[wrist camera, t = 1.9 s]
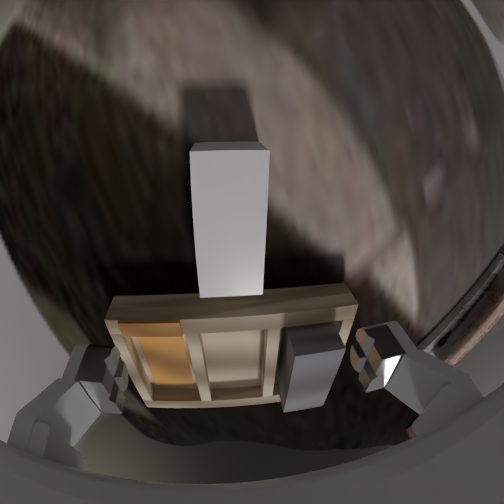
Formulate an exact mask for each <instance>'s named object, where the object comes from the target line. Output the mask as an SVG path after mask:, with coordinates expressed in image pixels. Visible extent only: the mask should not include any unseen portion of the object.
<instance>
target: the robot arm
mask: <svg viewBox="0 0 504 504" xmlns="http://www.w3.org/2000/svg"><path fill="white" fill-rule="evenodd" d="M355 337H356V339H357V341H356V342H355V343H354V344H353V345H352V348H351V351H350V359H351V363H352V366H353V368H354V370H356V371H358V372H359V373H360V376H359V380H360V382H361V384H362V386H363V388H364V391H365V392H369V391H373V390H377V389H380V388H384V387H385V389H387V390H388V391H389V392H391V393H392V394H393V395H394V396H396V397H397V398H398V399H400V400H401V401H402V402H404V403H405V404H406V405H408V406H409V407H410V408H412V409H413V410H414V411H416V412H417V413H418V414H420V415H419V416H418V418H417V419H416V420H415V421H414V422H413V424H412V428H413V430H414V432H415V434H416V437H414V438H412V439H410V440H407V441H405V442H403V443H400V444H398V445H396V446H393V447H391V448H388V449H386V450H383V451H381V452H378V453H375V454H372V455H370V456H367V457H364V458H361V459H358V460H354V461H351V462H348V463H345V464H342V465H338V466H334V467H331V468H326V469H322V470H319V471H314V472H309V473H305V474H300V475H295V476H289V477H283V478H277V479H270V480H262V481H254V482H243V483H229V484H171V483H156V482H147V481H138V480H131V479H124V478H118V477H113V476H107V475H102V474H98V473H93V472H88V471H84V470H83V466H84V459H85V458H84V457H83V455H82V454H81V453H79V452H78V451H77V450H76V449H75V448H74V447H73V446H74V445H75V444H76V443H77V442H78V440H79V439H80V438H81V437H82V435H83V434H84V433H85V432H86V431H87V429H88V428H89V427H90V426H91V424H92V423H93V422H94V421H95V420H96V418H97V417H98V416H99V415H100V414H101V412H107V413H118V414H122V413H123V407H124V401H125V397H124V395H123V394H122V392H123V391H124V390H125V389H126V388H127V385H128V371H127V367H126V364H125V362H123V361H122V360H121V359H119V358H120V354H121V353H120V351H119V349H118V347H116V346H105V345H92V344H80V343H78V344H77V345H75V347H74V349H73V351H72V354H71V356H70V359H69V361H68V363H67V366H66V369H65V371H64V374H63V377H62V379H60V378H58V379H57V380H56V381H54V382H53V383H52V384H51V385H50V386H49V387H47V388H46V389H45V390H44V391H42V392H41V393H40V394H39V395H38V396H37V397H35V398H34V399H33V400H32V401H31V402H29V403H28V404H27V405H26V406H25V407H23V408H22V409H21V410H20V411H19V412H18V413H17V414H16V417H15V420H14V423H13V426H12V429H11V432H10V435H9V439H8V442H7V443H5V442H3V441H1V440H0V504H504V383H503V384H502V385H501V386H500V387H498V388H497V389H496V390H494V391H493V392H491V393H490V394H489V395H487V396H486V397H483V396H482V394H481V393H480V391H479V390H478V388H477V387H476V385H475V384H474V382H473V381H472V379H471V378H470V376H469V375H468V374H467V373H465V372H463V371H461V370H459V369H457V368H455V367H454V366H452V365H450V364H448V363H446V362H444V361H442V360H440V359H438V358H436V357H434V356H433V355H431V354H429V353H427V352H425V351H423V350H417V348H416V347H415V345H414V344H413V343H412V341H411V340H410V338H409V337H408V336H407V334H406V333H405V331H404V330H403V329H402V327H401V326H400V325H399V323H398V322H396V321H393V322H388V323H384V324H378V325H374V326H369V327H364V328H360V329H359V330H358V331H357V333H356V336H355Z"/></svg>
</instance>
